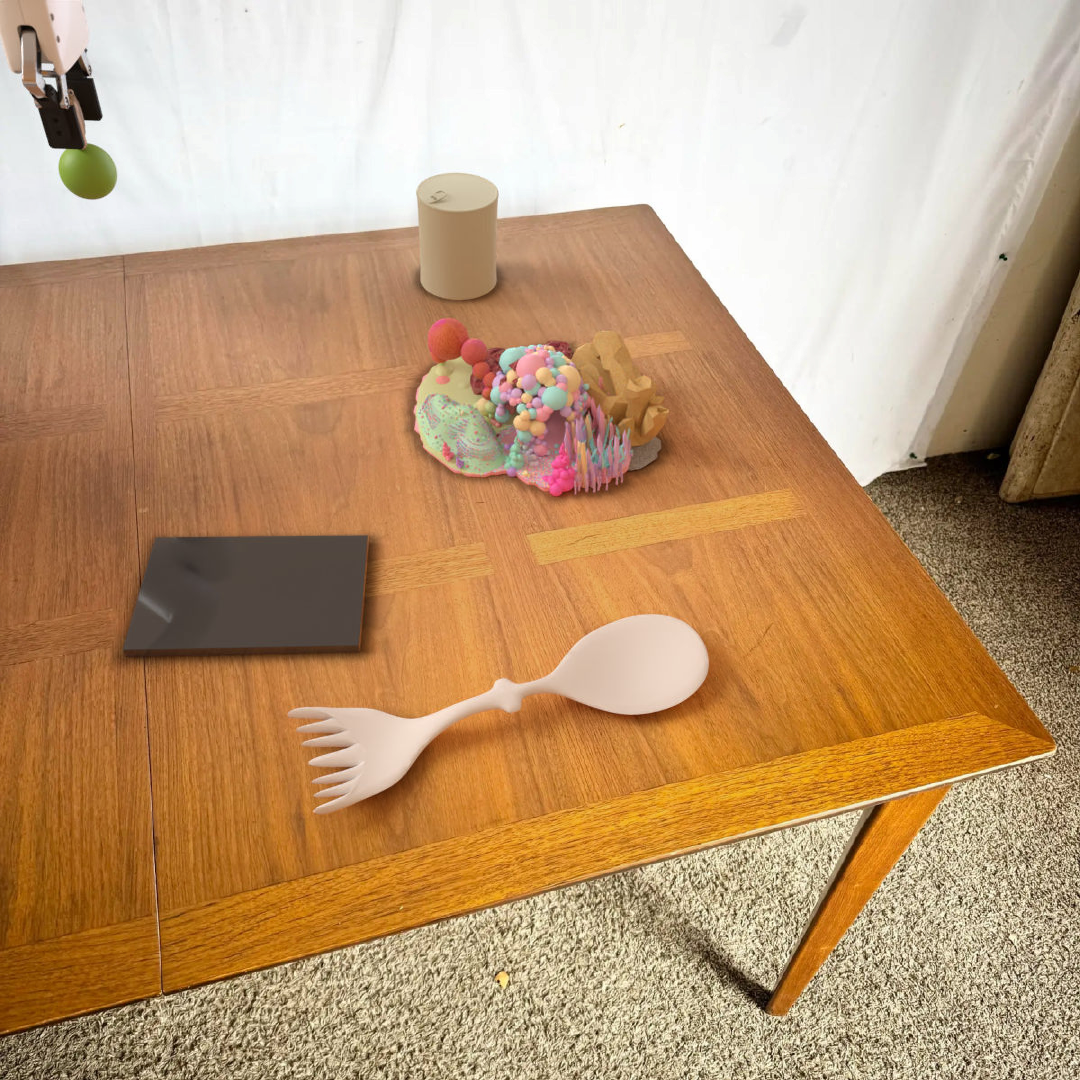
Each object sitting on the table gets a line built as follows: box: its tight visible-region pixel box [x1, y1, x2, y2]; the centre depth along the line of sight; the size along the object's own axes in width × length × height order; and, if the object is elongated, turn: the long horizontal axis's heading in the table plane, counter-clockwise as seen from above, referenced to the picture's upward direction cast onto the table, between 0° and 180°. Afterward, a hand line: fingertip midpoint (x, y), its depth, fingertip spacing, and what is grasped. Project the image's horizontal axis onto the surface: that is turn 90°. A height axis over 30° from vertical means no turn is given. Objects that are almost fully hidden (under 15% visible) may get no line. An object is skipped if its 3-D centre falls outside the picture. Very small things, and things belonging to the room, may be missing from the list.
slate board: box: [122, 534, 370, 658], centre depth 79 cm, size 18×12×2 cm, turn 94°
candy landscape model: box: [413, 317, 670, 497], centre depth 94 cm, size 25×24×9 cm
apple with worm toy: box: [57, 89, 118, 201], centre depth 96 cm, size 5×6×12 cm
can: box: [415, 172, 499, 301], centre depth 110 cm, size 9×9×12 cm
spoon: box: [286, 613, 710, 815], centre depth 72 cm, size 9×32×4 cm, turn 112°
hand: (76, 131), depth 95 cm, fingers closed on apple with worm toy, 6 cm apart
